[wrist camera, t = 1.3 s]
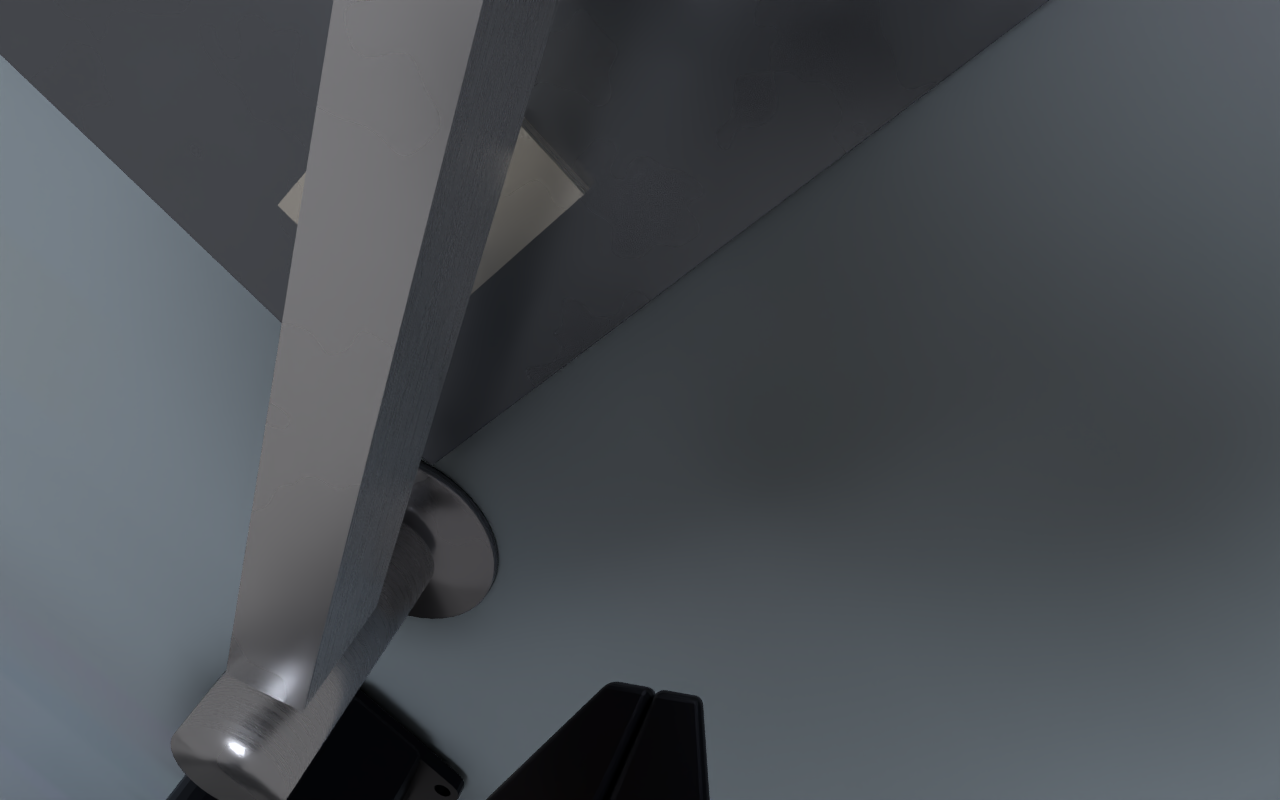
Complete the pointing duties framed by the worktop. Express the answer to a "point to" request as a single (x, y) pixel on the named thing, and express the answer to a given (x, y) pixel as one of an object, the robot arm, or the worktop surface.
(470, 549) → the base
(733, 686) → the worktop surface
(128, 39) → the board
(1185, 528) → the worktop surface
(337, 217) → the swing arm
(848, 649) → the worktop surface
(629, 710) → the robot arm
